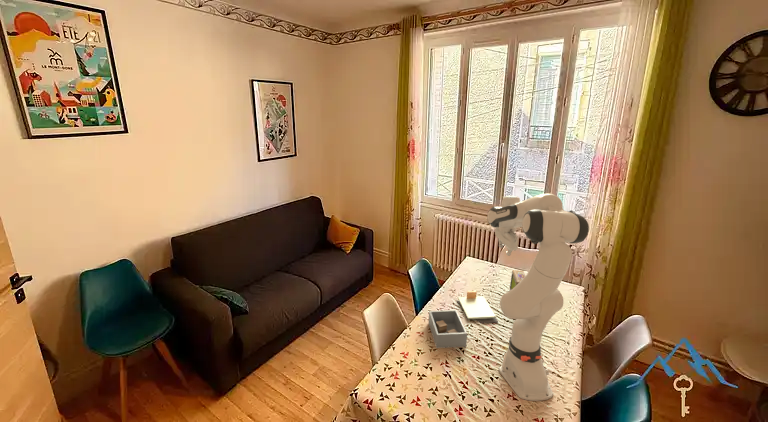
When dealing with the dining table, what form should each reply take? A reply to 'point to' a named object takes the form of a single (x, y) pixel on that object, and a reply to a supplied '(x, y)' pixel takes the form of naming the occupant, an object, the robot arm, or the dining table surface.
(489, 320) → the mat
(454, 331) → the part block
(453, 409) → the dining table surface
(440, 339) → the tub
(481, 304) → the lid
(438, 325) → the part block
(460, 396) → the dining table surface
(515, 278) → the tea box
